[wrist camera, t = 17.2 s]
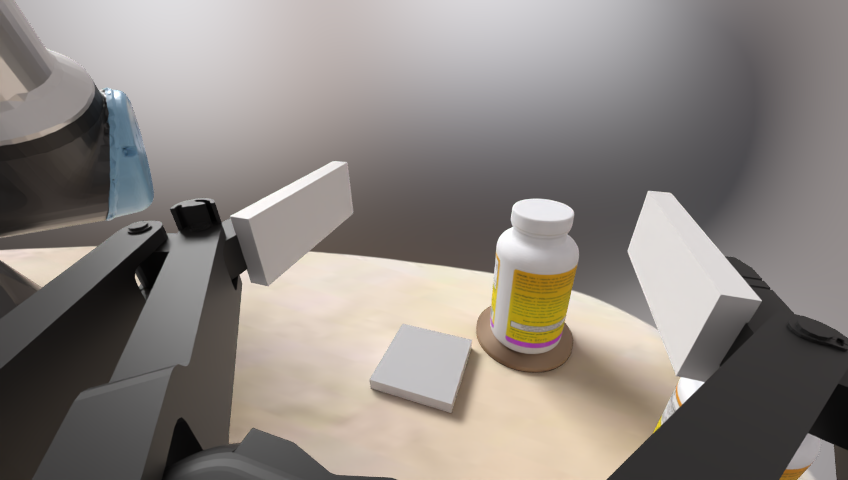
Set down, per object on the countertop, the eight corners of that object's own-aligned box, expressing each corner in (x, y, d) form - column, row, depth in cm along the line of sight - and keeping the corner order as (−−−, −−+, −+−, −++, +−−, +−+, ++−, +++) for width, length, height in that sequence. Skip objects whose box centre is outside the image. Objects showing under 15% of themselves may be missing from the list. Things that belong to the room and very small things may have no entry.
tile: (369, 379, 28) (451, 404, 26) (402, 323, 33) (471, 340, 31) (371, 391, 28) (451, 416, 26) (403, 334, 34) (471, 351, 32)
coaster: (467, 358, 31) (468, 353, 30) (484, 298, 38) (484, 294, 38) (574, 383, 28) (575, 378, 28) (569, 314, 36) (570, 310, 35)
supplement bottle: (576, 342, 31) (609, 216, 25) (518, 368, 29) (539, 235, 23) (528, 301, 37) (545, 189, 31) (476, 320, 34) (484, 202, 28)
